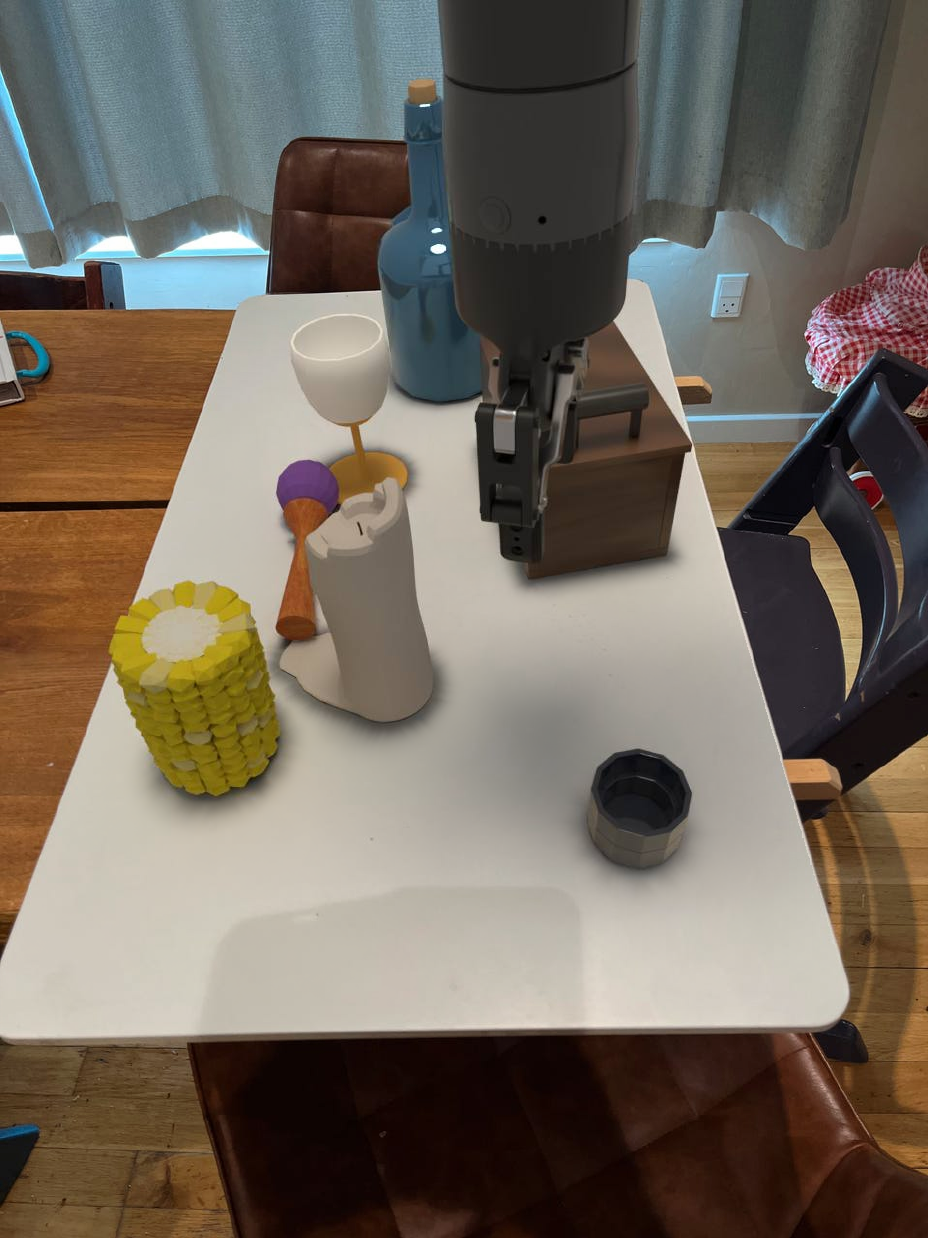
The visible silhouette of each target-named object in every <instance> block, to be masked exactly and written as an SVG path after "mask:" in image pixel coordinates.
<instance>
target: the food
mask: <svg viewBox="0 0 928 1238" xmlns="http://www.w3.org/2000/svg"><path fill="white" fill-rule="evenodd" d="M256 623H257V621H256V620H255V618H254V617H253V616H252V612H251V603H249V602H247V601H245V600H243V599H241V598H239V593H238V592H236V591H234V590H233V589H231V588H230V587H228V586H224V585H219V584H218V583H216V582H215V581H214V580H209V581H205V582H202V583H197V584H196V583H194V582H193V581H191V580H190V579H188V580H185V581H181V582H178V583H175V584H174V586H173V589H171V588H168V587H167V588H163V589H157V590H156V591H154V592H153V593H152V594H150V595H149V596H148V599H147V598H145V597H142V598H140V599H139V600H138V601H136V602H135V603H133V604H132V605H131V606H129V607H128V615H123V614H122V615H120V616H119V619H118V620H117V622H116V625H115V626H114V633H113V635H112V638H111V640H110V644H109V647H108V654H109V655H111V657H112V658H111V660H110V662H111V664H112V665H113V666H114V667H113V668H112V671H113V672H114V674H115V676H116V677H117V680H116V683H117V684H118V685H119V686H120V687H121V688H122V692H123V697H124V700H125V701H124V702H125V704H126V707H127V708H128V709H129V710H130V716H131V717H132V718H133V719H134V720H135V724H134V725H135V728H136V729H137V730H138V731H139V732H140V736H141V737H142V738H143V740H144V742H145V744H146V746H147V748H148V752H149V753H150V754H151V755H152V756H153V761H152V762H153V763H154V765H155V766H156V767H157V768H158V769H159V770H160V771H161V772H162V773H163V774H164V778H165V779H166V780H168V781H169V783H170V784H171V785H172V786H173V787H175V788H180V789H181V788H182V787H184V791H185V792H188V793H190V794H192V795H196V796H197V795H201V794H204V793H205V792H206V793H208V794H210V795H212V796H214V797H217V796H220V795H221V794H225V793H228V792H229V791H230V790H231V787H232V788H245V786H246V784H247V783H248V781H249V780H250V779H251V778H255V777H257V776H259V775H261V774H262V773H264V771H265V769H266V768H267V766H268V764H269V763H270V760H269V759H268V758H271V757H272V756H273V755H275V754H276V750H277V748H278V743H277V741H276V739H277V738H279V736H280V735H281V731H280V725H279V723H280V721H279V719H278V714H277V712H276V702H275V701H274V700H275V698H276V694H275V693H274V691H273V689H272V687H271V686H270V681H271V676H270V672H269V671H268V664H267V663H268V662H267V661H268V660H267V659H265V656H266V655H265V651H264V649H265V648H264V645H263V644H262V642H261V638H260V634H259V632H258V627H257V626H256Z"/></svg>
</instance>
